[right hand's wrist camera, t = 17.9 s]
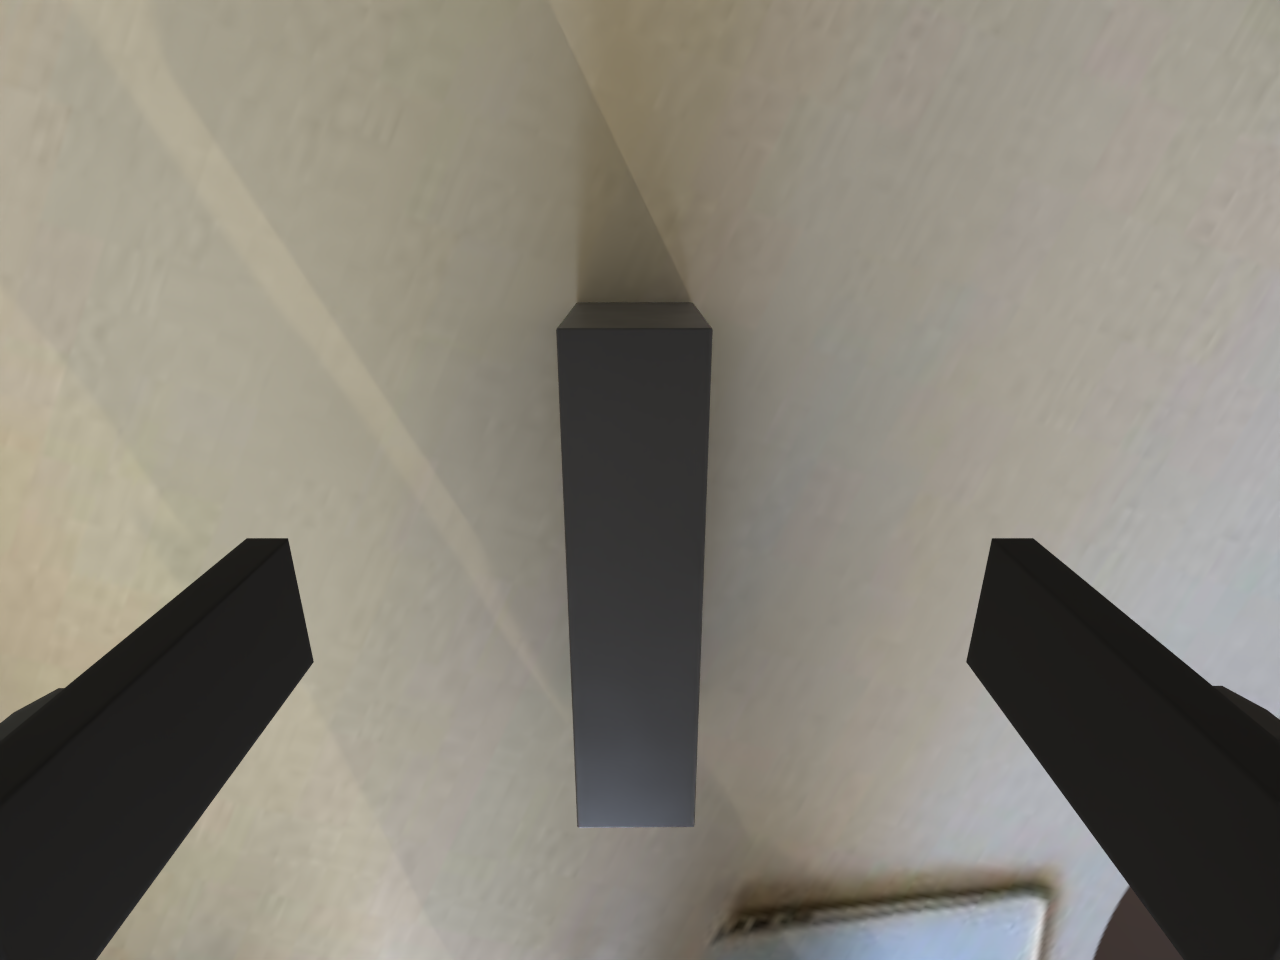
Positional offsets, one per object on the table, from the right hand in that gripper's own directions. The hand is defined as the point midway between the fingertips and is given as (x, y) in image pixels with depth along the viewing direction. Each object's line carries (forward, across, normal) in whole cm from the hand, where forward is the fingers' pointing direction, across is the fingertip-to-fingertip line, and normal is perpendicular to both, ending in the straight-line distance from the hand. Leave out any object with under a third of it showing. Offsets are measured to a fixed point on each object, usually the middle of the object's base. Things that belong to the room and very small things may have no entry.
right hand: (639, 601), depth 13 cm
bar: (+22, 0, -9) cm, 24 cm away
